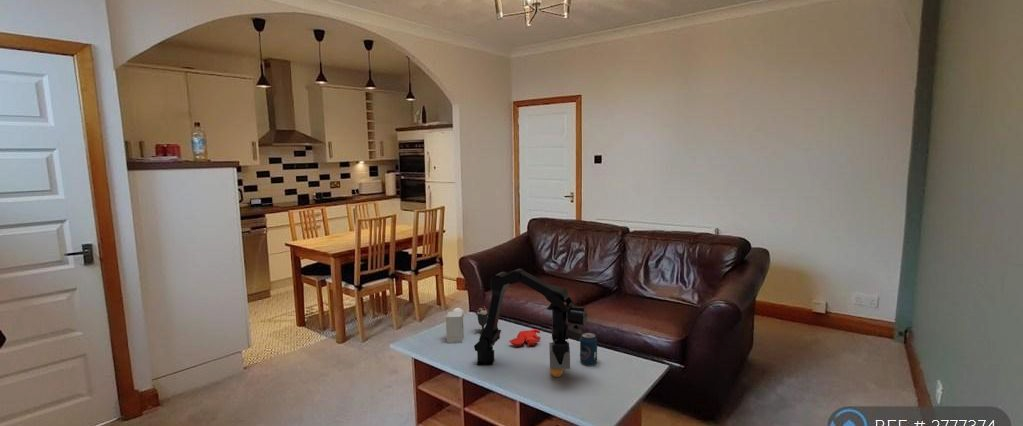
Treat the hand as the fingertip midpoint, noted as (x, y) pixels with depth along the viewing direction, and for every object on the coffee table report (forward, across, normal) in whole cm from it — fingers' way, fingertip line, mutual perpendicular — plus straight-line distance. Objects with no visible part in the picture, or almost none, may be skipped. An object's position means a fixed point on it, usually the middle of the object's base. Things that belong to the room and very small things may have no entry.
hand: (560, 359), depth 188 cm
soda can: (+7, +12, -12) cm, 18 cm away
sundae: (+7, +44, +36) cm, 57 cm away
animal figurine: (+7, +31, +15) cm, 35 cm away
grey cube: (+2, 0, 0) cm, 2 cm away
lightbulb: (+7, +48, +49) cm, 69 cm away
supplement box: (+7, +35, +48) cm, 60 cm away
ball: (+4, 0, +1) cm, 5 cm away
